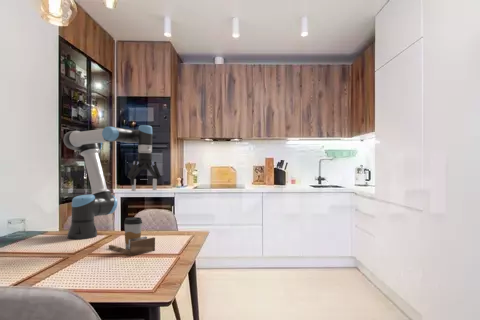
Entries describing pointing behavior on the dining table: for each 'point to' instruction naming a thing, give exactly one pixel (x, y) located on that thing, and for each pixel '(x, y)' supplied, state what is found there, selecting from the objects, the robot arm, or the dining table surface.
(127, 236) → the coffee cup
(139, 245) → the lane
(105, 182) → the robot arm
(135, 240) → the pusher
